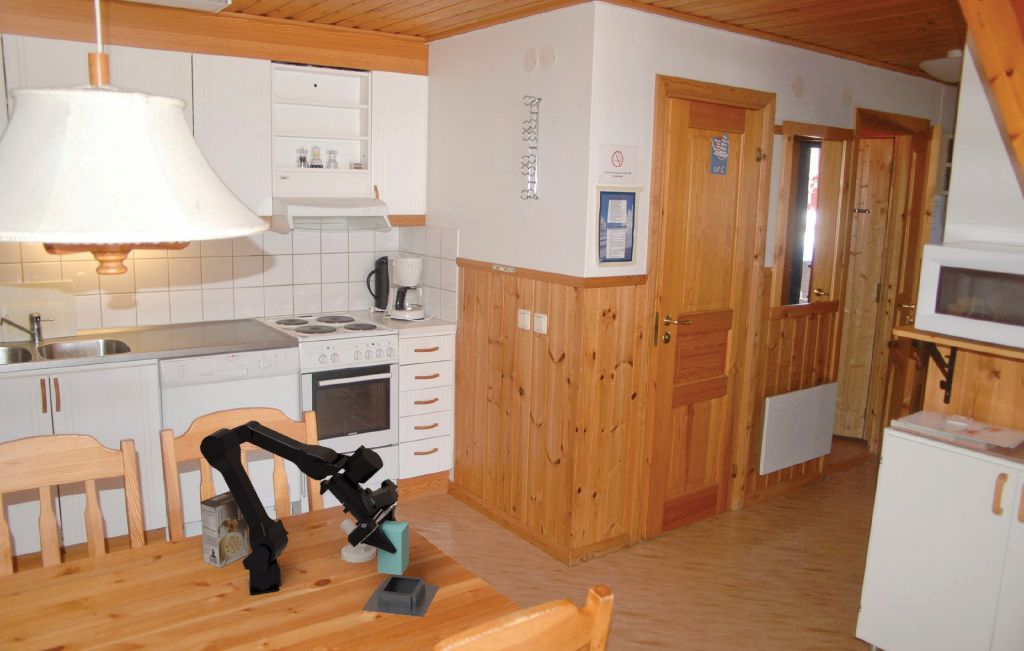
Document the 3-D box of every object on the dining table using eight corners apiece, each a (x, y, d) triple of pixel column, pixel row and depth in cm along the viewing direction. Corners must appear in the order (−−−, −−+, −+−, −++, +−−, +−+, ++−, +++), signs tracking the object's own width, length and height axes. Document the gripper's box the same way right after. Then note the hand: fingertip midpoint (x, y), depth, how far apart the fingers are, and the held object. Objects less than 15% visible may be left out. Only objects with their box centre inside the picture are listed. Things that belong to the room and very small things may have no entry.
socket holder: (361, 615, 173) (361, 597, 172) (382, 584, 187) (382, 567, 186) (423, 622, 171) (423, 604, 170) (439, 590, 184) (439, 573, 184)
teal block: (377, 572, 175) (377, 530, 174) (385, 561, 181) (385, 520, 179) (401, 575, 175) (401, 532, 173) (408, 563, 180) (408, 522, 178)
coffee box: (233, 548, 204) (230, 489, 201) (249, 554, 200) (247, 495, 198) (202, 562, 196) (199, 501, 193) (219, 569, 193) (216, 506, 190)
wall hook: (356, 512, 204) (382, 522, 199) (356, 547, 206) (383, 558, 200) (330, 523, 198) (357, 533, 192) (330, 558, 199) (357, 570, 193)
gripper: (361, 488, 166) (411, 542, 166) (389, 459, 184) (435, 508, 184) (326, 520, 168) (376, 574, 168) (357, 488, 186) (402, 537, 186)
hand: (399, 546), depth 177 cm, fingers closed on teal block, 5 cm apart
